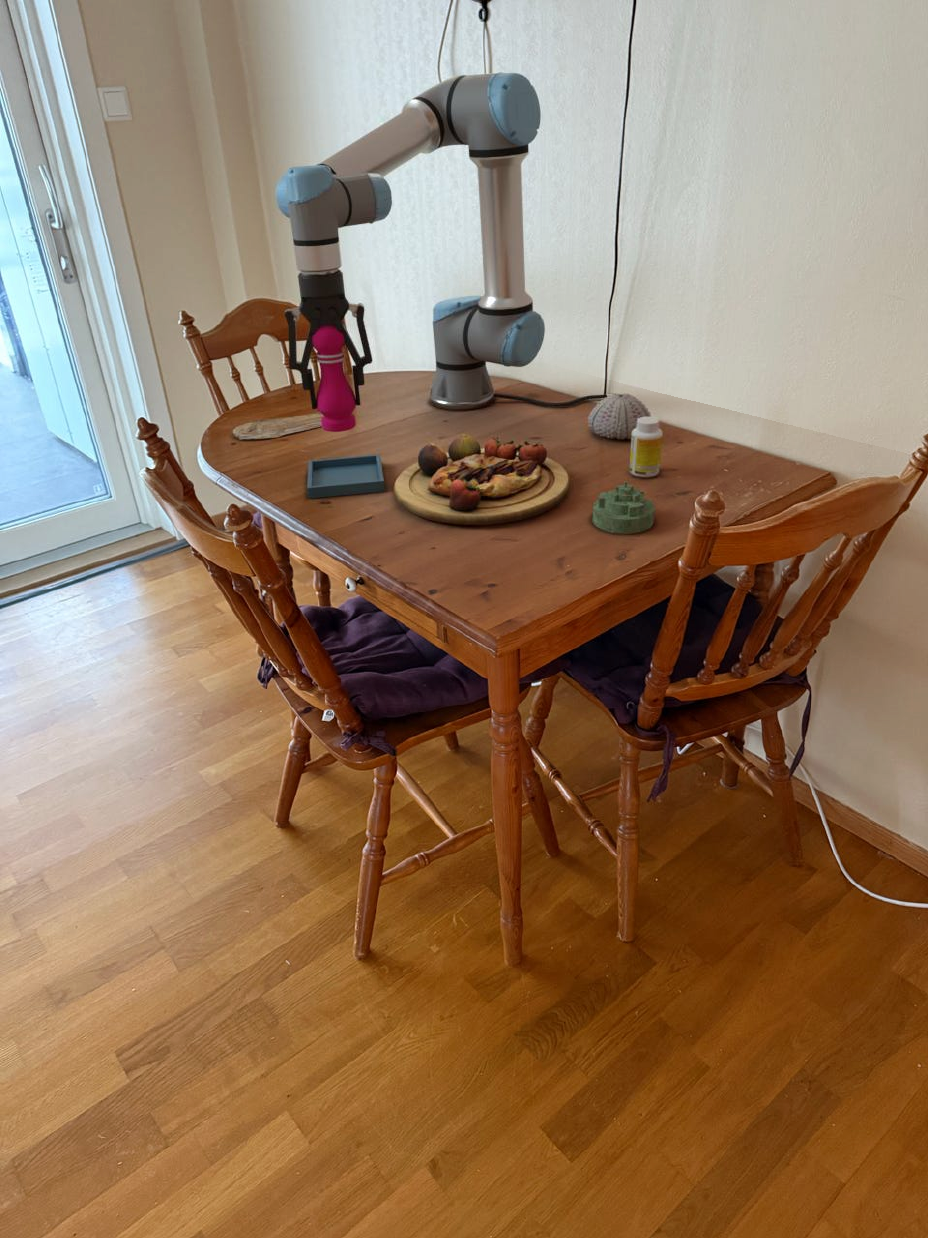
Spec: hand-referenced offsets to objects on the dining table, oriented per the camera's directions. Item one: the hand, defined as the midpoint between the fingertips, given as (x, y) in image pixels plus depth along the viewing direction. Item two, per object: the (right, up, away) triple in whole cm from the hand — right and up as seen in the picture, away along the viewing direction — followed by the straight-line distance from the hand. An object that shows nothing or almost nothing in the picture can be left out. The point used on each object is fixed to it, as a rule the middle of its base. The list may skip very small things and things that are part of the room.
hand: (336, 404), depth 152 cm
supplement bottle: (+57, -12, +4) cm, 58 cm away
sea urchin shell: (+56, 0, +23) cm, 61 cm away
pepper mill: (0, -4, +2) cm, 4 cm away
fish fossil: (-16, +4, +36) cm, 39 cm away
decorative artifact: (+50, -23, -12) cm, 56 cm away
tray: (+1, -13, +7) cm, 15 cm away
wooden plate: (+26, -16, +1) cm, 31 cm away
